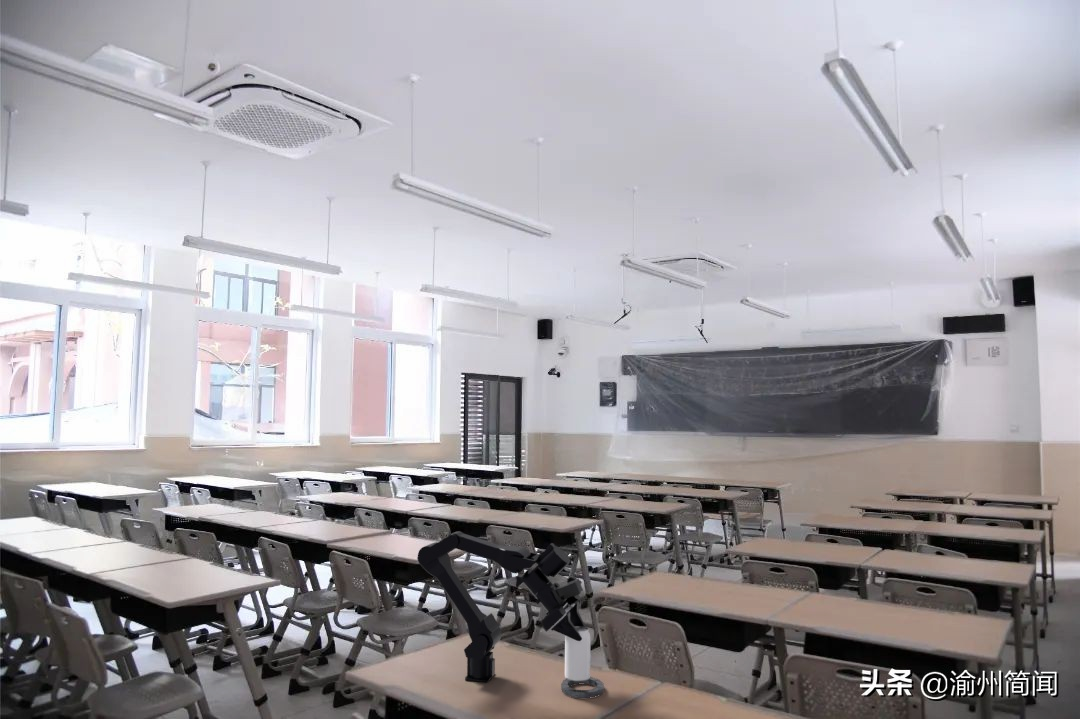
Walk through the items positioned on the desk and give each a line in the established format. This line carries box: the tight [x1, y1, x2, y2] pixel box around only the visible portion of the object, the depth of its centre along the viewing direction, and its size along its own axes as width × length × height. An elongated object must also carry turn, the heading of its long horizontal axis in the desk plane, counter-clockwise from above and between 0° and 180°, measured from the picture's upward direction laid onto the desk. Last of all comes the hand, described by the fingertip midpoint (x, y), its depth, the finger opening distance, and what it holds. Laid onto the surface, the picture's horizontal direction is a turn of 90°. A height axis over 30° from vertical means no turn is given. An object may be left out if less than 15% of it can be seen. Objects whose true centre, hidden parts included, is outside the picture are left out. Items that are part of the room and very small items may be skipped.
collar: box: [560, 676, 605, 699], centre depth 175 cm, size 10×10×2 cm
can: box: [564, 626, 591, 681], centre depth 176 cm, size 6×6×12 cm
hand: (583, 636), depth 176 cm, fingers closed on can, 6 cm apart
